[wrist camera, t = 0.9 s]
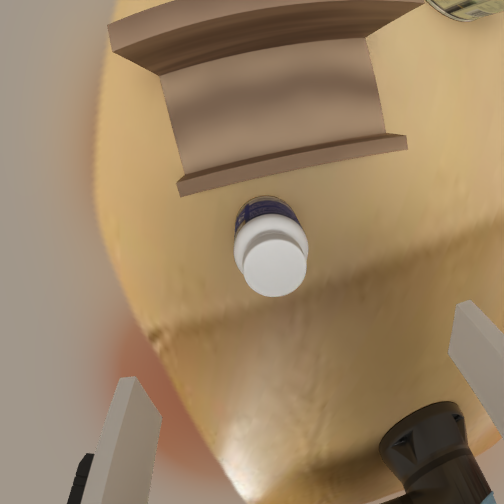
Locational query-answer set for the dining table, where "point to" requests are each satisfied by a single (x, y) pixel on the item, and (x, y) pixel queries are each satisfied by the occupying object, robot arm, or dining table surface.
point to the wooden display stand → (263, 82)
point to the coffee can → (467, 8)
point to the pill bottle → (270, 246)
